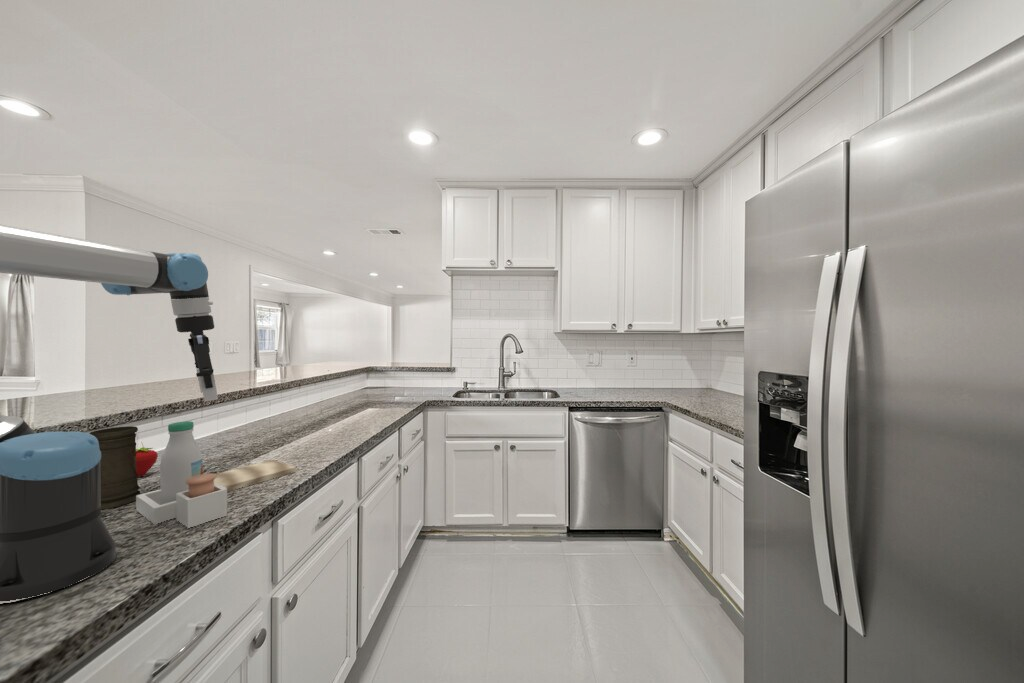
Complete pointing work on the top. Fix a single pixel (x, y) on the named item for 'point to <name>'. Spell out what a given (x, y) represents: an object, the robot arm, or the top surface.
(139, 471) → the strawberry
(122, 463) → the container
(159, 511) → the dock
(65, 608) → the top surface
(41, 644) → the top surface
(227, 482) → the ash board
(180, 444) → the milk bottle
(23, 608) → the top surface
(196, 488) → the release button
